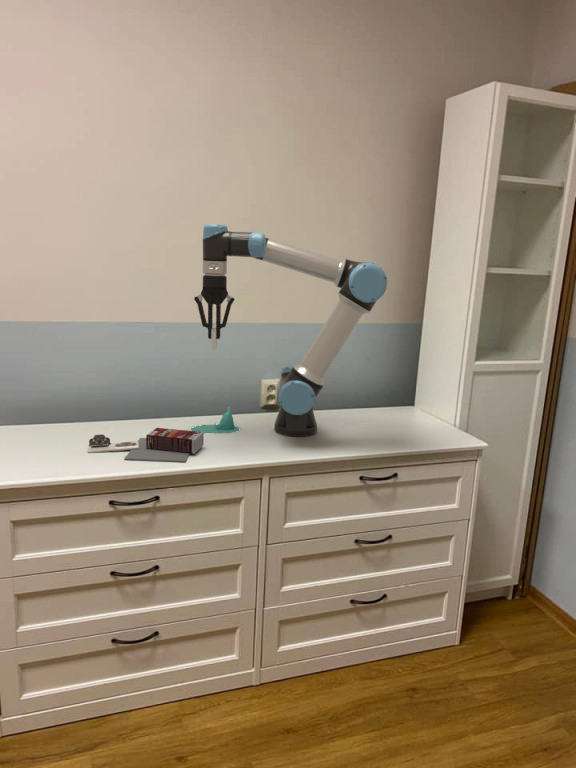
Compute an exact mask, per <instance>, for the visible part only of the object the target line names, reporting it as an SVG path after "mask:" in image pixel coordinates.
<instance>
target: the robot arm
mask: <svg viewBox="0 0 576 768" xmlns="http://www.w3.org/2000/svg"><path fill="white" fill-rule="evenodd" d="M228 230H229V229H228V226H227V225H226V224H216V223H215V224H214V223H212V224H210V223H208V224H205V225H204V226H203V235H202V273H203V276H202V290H201V292H200V294H198V295H196V296H194V297H193V300H194V301H195V303H196V305H197V309H198V313H199V317H200V320H201V325H202V327H203V328H206V329H207V338H208V339H209V340H211V342H210V343H211V344H210V345H211V348H210V349H211V350H214V351H215V350H217V349H218V348H217V347H218V345H217V344H218V340H220V339H221V329H223V328H226V326H227V323H228V318H229V315H230V312H231V307H232V304H233V303H234V302H235V300H236V299H235V297H233V296H231V295H230V294H229V292H228V288H227V285H228V284H227V279H228V277H227V276H226V275H227V273H228V269H227V268H228V257H241V258H253V259H256V260H259V261H263V262H267V263H269V264H274V265H276V266H279V267H282V268H285V269H289V270H291V271H295V272H299V273H302V274H305V275H309V276H311V277H313V278H317V279H321V280H323V281H328V282H331V283H333V284H334V285H335V287H336V288H340V290H339V291H338V293H337V294H338V299H339V301H338V302H337V304H336V305H335V307H334V309H333V310H332V312H331V313H330V315H329V317H328V319H327V320H326V322H325V323H324V325H323V327H321V330H320V332H319V333H318V335H317V336H316V338H315V339H314V340H313V343H312V345H311V346H310V348H309V350H308V351H307V353H306V354H305V356H304V357H303V359H302V361H301V363H299V364H296V365H293V366H292V365H291V366H290V365H289V366H288V365H287V366H283V367H282V368H281V373H280V376H281V381H280V388H279V390H278V397H277V398H278V401H279V404H280V406H279V410H278V413H277V415H276V418H275V422H274V428H273V429H274V432H275V433H277V434H279V435H283V436H289V437H309V436H313V435H315V434H317V431H318V424H317V420H316V416H315V413H314V406H315V402H316V398H317V397H318V396H319V394H320V392H321V391H322V389H323V388H324V386H325V380H324V377H325V375H326V373H328V370H329V369H330V367H331V365H332V364H333V362H334V361H335V359H336V358H337V356H338V355H339V353H340V351H341V349H342V348H343V346H344V345H345V343H346V342H347V340H348V338H349V337H350V336H351V334H352V332H353V331H354V329H355V327H356V326H357V324H358V323H359V322H360V320H361V318H362V316H363V315H365V314H368V313H370V312H371V311H372V309H373V308H374V306H375V304H376V303H377V302H378V301H379V299H381V298H382V297H383V296H384V295H385V293H386V290H387V288H388V279H387V275H386V272H385V270H383V268H382V267H381V266H379V264H376V263H374V262H368V261H367V262H366V261H365V262H364V261H355V260H350V259H347V258H343V259H342V260H340V259H337V258H335V257H330V256H327V255H324V254H321V253H317V252H314V251H310V250H307V249H304V248H301V247H297V246H295V245H291V244H288V243H285V242H281V241H278V240H275V239H273V238H268V237H266V235H265V233H264V232H256V231H254V232H253V231H228ZM203 299H204V300H205V302H206V304H207V320H206V314H205V310H204V306H203V302H202V301H203ZM225 300H226V302H227V305H226V308H225V312H224V316H223V319H222V321H221V317H222V316H221V313H222V312H221V309H222V304H223V303H224V302H225ZM214 305H215V308H216V309H215V327H214V326H213V322H214V321H213V316H214V312H213V310H214V308H213V307H214ZM221 322H222V323H221ZM213 327H214V328H213Z"/></svg>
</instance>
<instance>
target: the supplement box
mask: <svg viewBox="0 0 576 768" xmlns="http://www.w3.org/2000/svg"><path fill="white" fill-rule="evenodd" d="M204 434H205V433H204V432H198V431H192V430H186V429H184V430H183V429H176V428H175V429H174V428H163V427H156V428H153V430H152V431H150V432H148V433H147V434H146V436H145V438H146V448H147V449H155V450H165V451H175V452H184V453H190V454H193V455H194V454H196V453H197V452H198V451H199V450H200V449H201V448H202V447H204V438H205V437H204Z"/></svg>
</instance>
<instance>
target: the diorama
mask: <svg viewBox="0 0 576 768" xmlns="http://www.w3.org/2000/svg"><path fill="white" fill-rule="evenodd" d="M216 424H217V425H216ZM193 427H194V428H192V427H190V428H191V430H190V431H198V432H204V434H206V433H215V435H216V433H217V434H233V433H232V432H234V433H237V432H236V431H238V432H240V431H239V428H240V427H239V426H237V427H235V424H234V417H233V413H232V407H231V406H230V405H229V406H227V412H225V413H223V415H222V417H221V419H220V421H219V424H218V423H216V422H215V423H214V424H201V426H199V425H196V427H195V426H193ZM238 427H239V428H238Z"/></svg>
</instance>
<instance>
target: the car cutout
mask: <svg viewBox="0 0 576 768" xmlns="http://www.w3.org/2000/svg"><path fill="white" fill-rule="evenodd" d="M88 443H89V444H88V448H87V454H92V453H104V452H105V453H106V452H107V453H108V452H117V451H119V452H120V451H131V450H133V449H139V442H138V440H135V441H134V440H133V441H122V442H121V441H120V442H119V441H118V442H111V439H110V438H109V436H107V437H106V436H105V434H95V435H94V436H93V438H90V439H89V441H88Z"/></svg>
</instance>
